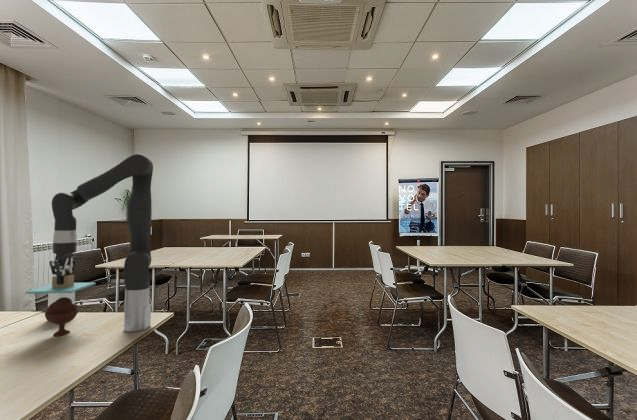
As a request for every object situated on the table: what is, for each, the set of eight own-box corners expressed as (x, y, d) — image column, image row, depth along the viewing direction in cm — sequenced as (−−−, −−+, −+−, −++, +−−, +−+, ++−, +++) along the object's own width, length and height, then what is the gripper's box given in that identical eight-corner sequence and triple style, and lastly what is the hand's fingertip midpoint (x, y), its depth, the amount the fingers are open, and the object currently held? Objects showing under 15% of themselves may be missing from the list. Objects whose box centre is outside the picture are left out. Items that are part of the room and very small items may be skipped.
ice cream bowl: (85, 329, 132) (86, 294, 133) (61, 339, 121) (62, 301, 122) (62, 328, 133) (63, 293, 134) (36, 338, 122) (37, 299, 123)
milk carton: (74, 317, 148) (75, 277, 148) (57, 322, 141) (59, 280, 142) (64, 315, 150) (65, 276, 151) (47, 320, 143) (48, 278, 144)
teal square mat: (95, 284, 137) (95, 272, 137) (71, 292, 121) (71, 279, 121) (55, 284, 135) (55, 272, 135) (25, 293, 119) (26, 279, 119)
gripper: (63, 242, 122) (61, 287, 121) (85, 240, 136) (84, 280, 135) (42, 242, 121) (40, 287, 120) (66, 240, 135) (65, 280, 134)
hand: (63, 283), depth 128 cm, fingers closed on teal square mat, 3 cm apart
